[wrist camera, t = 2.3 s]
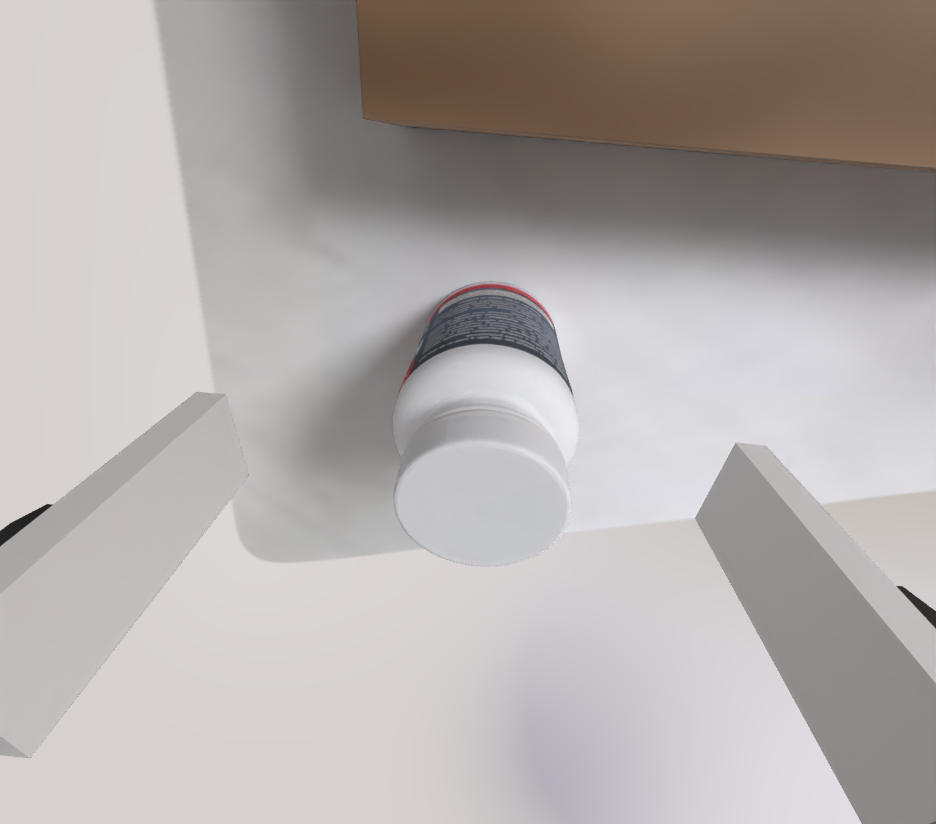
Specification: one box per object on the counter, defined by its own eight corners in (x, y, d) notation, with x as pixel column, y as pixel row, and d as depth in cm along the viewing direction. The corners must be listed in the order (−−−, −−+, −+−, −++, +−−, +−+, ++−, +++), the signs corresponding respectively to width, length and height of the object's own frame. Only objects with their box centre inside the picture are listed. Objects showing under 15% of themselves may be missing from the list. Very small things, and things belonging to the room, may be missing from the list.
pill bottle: (410, 291, 15) (325, 427, 8) (550, 266, 14) (600, 392, 7) (441, 407, 18) (400, 588, 11) (560, 393, 17) (604, 577, 10)
